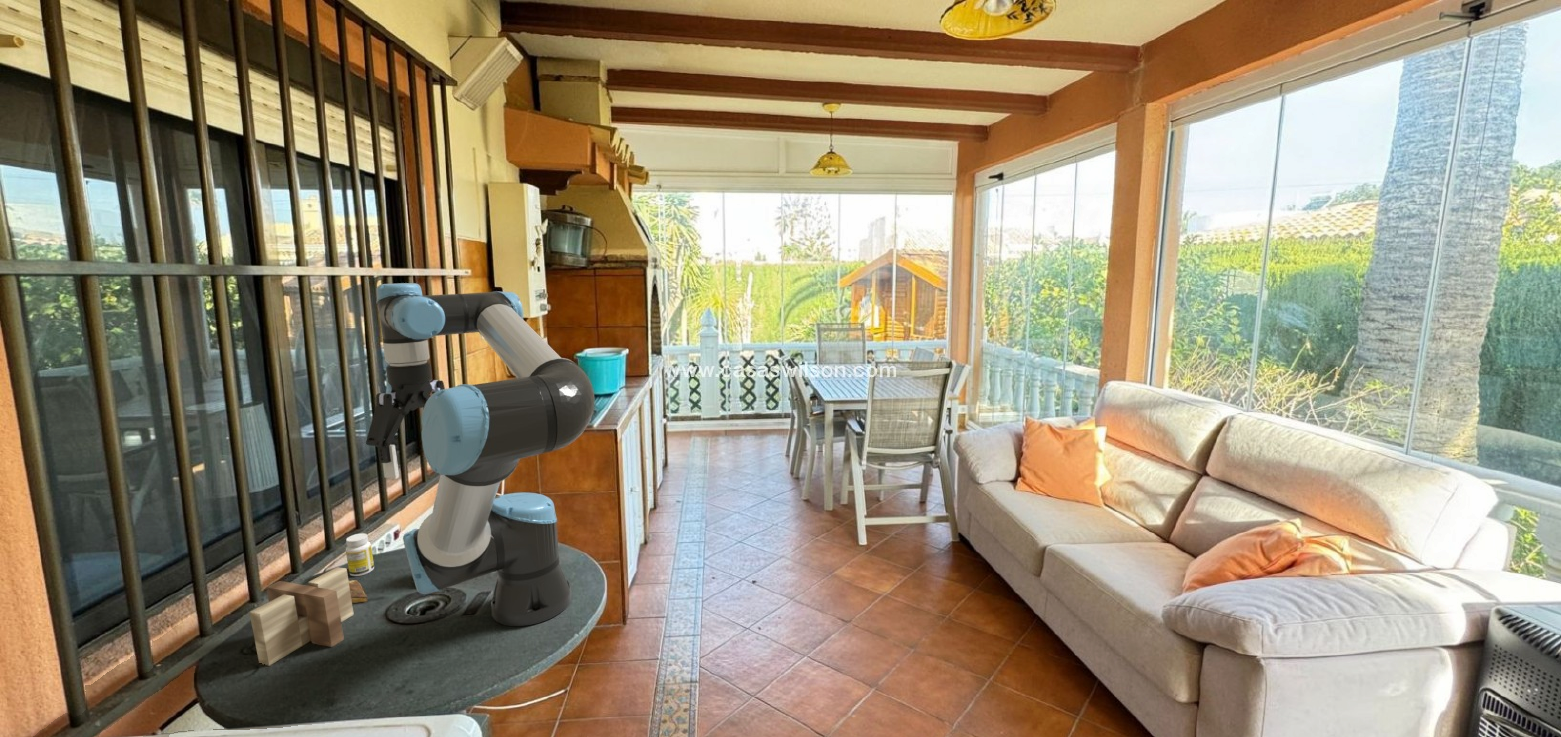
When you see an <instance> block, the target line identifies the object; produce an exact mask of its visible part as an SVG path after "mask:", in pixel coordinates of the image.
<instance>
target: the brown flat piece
mask: <svg viewBox="0 0 1561 737" xmlns="http://www.w3.org/2000/svg"><path fill="white" fill-rule="evenodd" d="M348 581H349V587H350V594H351V601H352V604H353V603H355V604H356V603H366V602H368V596H367V594H366V593H365V592H364V588H363V587H362V585H361V583H360V582H358V580H348Z"/></svg>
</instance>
